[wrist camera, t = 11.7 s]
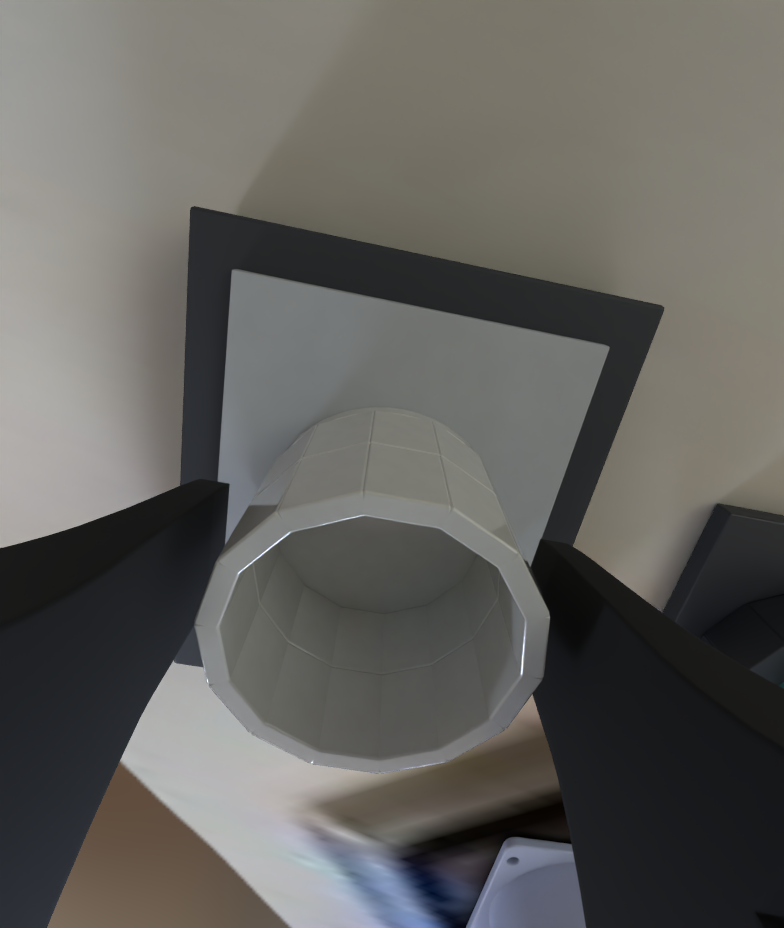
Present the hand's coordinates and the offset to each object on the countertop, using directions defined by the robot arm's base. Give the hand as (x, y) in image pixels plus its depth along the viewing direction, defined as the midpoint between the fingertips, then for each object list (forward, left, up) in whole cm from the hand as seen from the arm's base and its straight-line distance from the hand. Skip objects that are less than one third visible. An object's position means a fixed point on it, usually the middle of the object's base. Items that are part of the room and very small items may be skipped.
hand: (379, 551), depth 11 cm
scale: (0, 0, -4) cm, 4 cm away
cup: (0, 0, -2) cm, 2 cm away
